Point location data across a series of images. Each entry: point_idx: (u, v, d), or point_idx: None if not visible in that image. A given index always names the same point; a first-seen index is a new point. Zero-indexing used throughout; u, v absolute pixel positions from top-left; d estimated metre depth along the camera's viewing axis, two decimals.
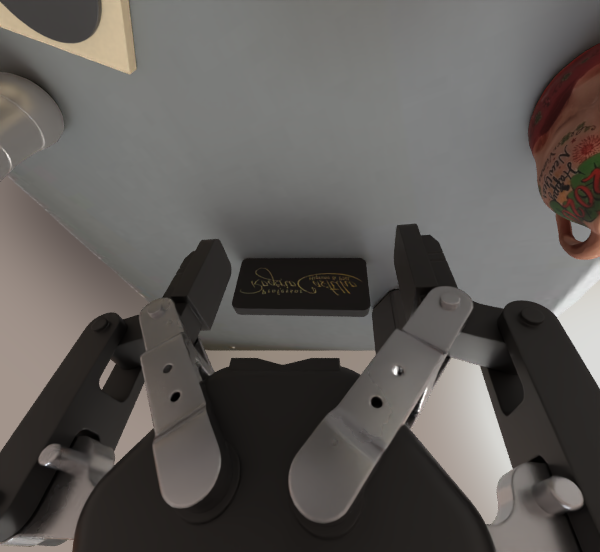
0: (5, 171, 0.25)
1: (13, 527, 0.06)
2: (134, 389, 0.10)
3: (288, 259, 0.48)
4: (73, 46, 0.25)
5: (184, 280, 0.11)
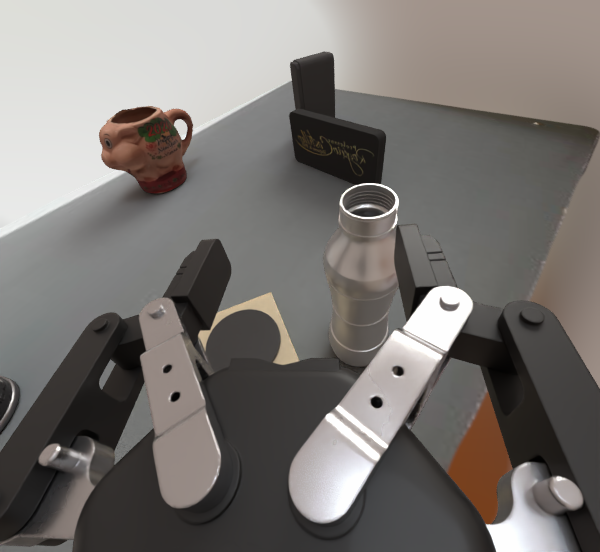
0: None
1: (13, 527, 0.06)
2: (134, 389, 0.10)
3: (340, 177, 0.55)
4: (277, 320, 0.34)
5: (184, 280, 0.11)
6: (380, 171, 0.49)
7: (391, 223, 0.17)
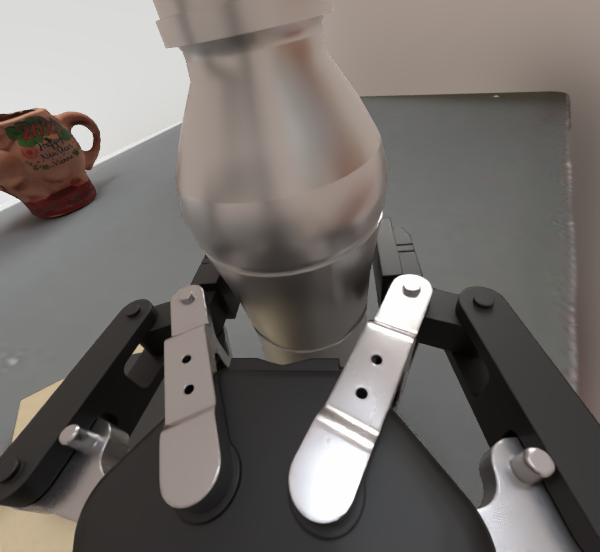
0: None
1: (29, 497, 0.07)
2: (157, 377, 0.10)
3: None
4: None
5: (211, 269, 0.11)
6: None
7: None
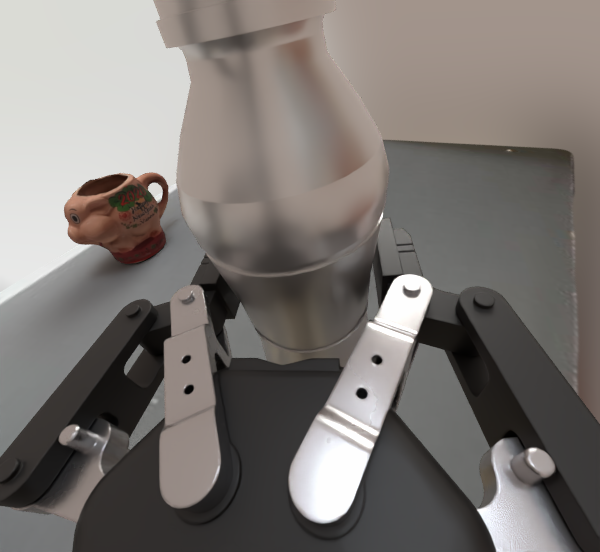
0: None
1: (29, 498, 0.07)
2: (157, 377, 0.10)
3: None
4: None
5: (211, 269, 0.11)
6: None
7: None
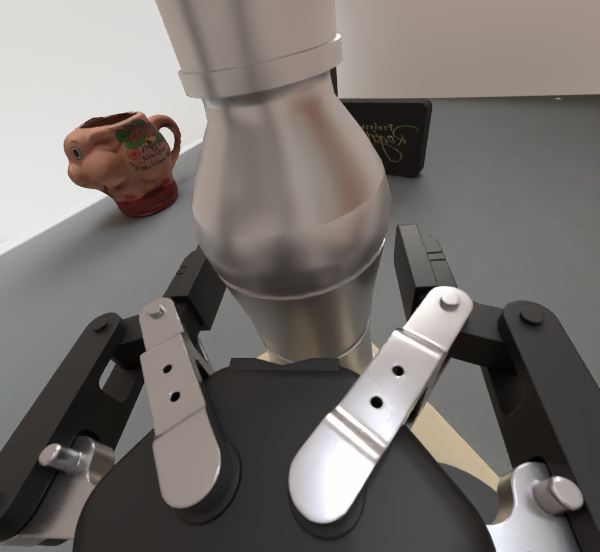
0: None
1: (13, 527, 0.06)
2: (134, 389, 0.10)
3: None
4: None
5: (184, 280, 0.11)
6: (424, 151, 0.40)
7: (320, 18, 0.05)
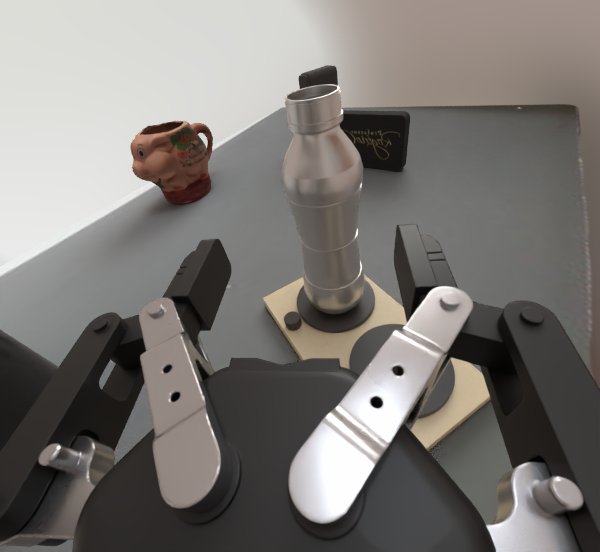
0: None
1: (13, 527, 0.06)
2: (134, 389, 0.10)
3: (363, 165, 0.58)
4: None
5: (184, 280, 0.11)
6: (405, 151, 0.53)
7: (336, 109, 0.18)
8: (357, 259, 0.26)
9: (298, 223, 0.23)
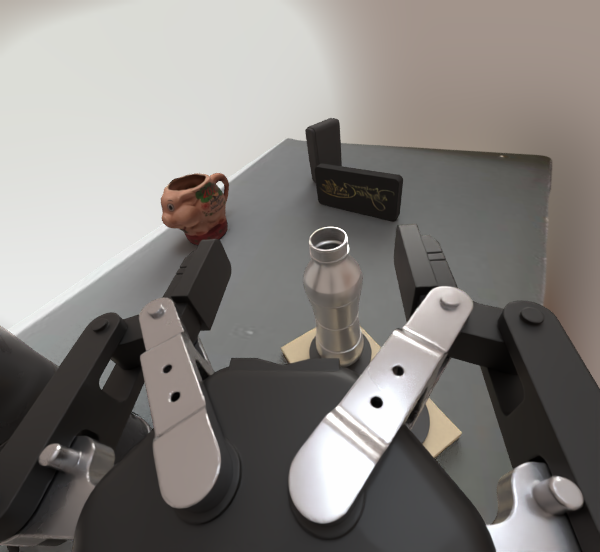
0: None
1: (13, 527, 0.06)
2: (134, 389, 0.10)
3: (363, 213, 0.66)
4: None
5: (184, 280, 0.11)
6: (399, 205, 0.61)
7: (345, 251, 0.26)
8: (358, 330, 0.34)
9: (314, 311, 0.31)
